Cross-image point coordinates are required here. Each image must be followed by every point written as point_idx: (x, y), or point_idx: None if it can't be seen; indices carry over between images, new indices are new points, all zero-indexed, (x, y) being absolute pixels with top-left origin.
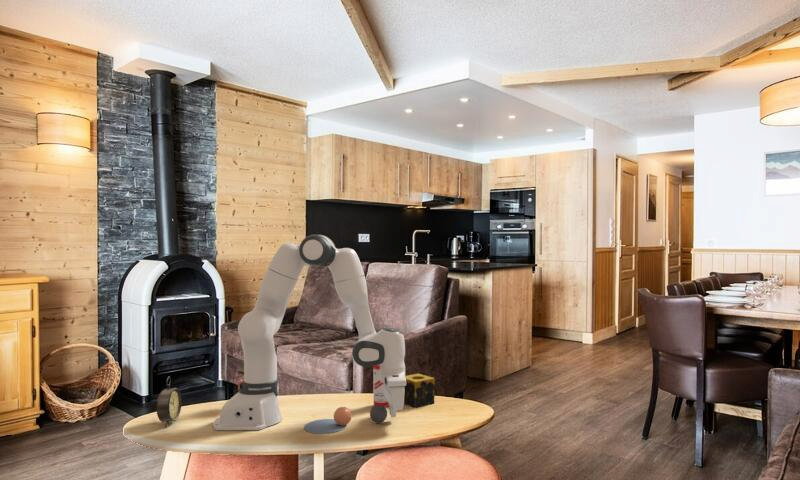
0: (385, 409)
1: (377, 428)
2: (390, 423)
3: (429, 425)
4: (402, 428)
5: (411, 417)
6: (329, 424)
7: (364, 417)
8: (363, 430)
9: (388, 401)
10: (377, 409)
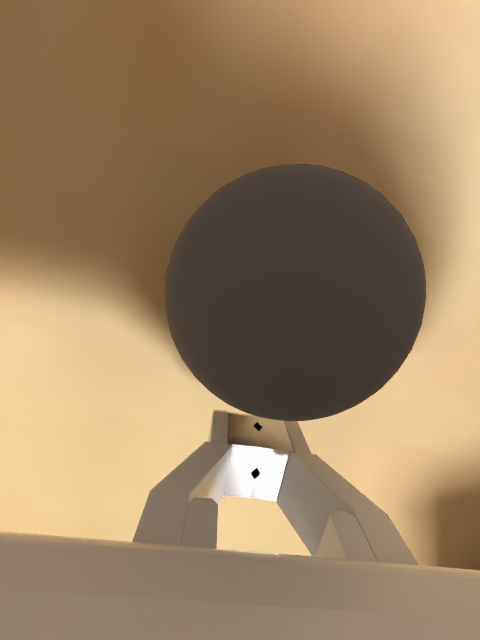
0: (226, 402)
1: (121, 226)
2: None
3: None
4: (67, 417)
5: (280, 532)
6: None
7: (465, 208)
8: (99, 59)
9: (136, 621)
10: (201, 259)
